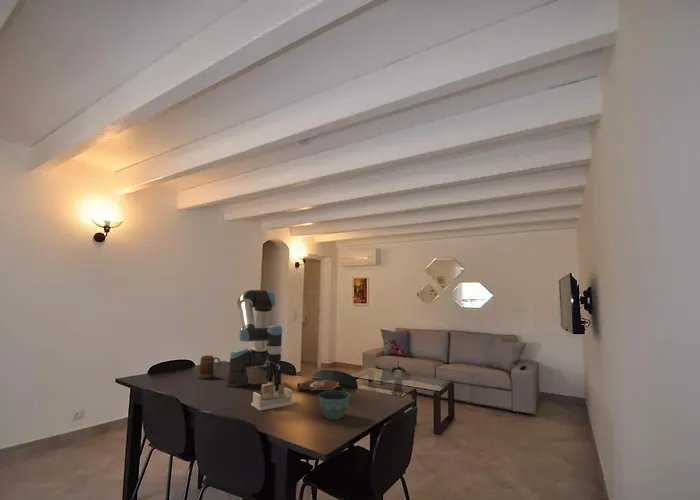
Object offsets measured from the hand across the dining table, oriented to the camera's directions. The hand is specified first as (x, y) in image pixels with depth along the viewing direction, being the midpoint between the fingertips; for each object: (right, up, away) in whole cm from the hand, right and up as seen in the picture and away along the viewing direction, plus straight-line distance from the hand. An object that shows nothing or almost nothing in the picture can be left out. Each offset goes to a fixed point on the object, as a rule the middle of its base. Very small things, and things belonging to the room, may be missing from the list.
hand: (272, 395), depth 208 cm
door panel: (0, -4, 0) cm, 4 cm away
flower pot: (+35, -4, -19) cm, 40 cm away
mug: (-59, -11, +61) cm, 86 cm away
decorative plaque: (+23, -10, +35) cm, 43 cm away
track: (0, -5, -1) cm, 5 cm away
